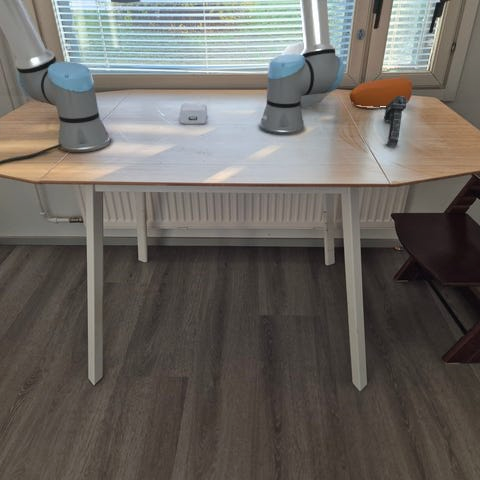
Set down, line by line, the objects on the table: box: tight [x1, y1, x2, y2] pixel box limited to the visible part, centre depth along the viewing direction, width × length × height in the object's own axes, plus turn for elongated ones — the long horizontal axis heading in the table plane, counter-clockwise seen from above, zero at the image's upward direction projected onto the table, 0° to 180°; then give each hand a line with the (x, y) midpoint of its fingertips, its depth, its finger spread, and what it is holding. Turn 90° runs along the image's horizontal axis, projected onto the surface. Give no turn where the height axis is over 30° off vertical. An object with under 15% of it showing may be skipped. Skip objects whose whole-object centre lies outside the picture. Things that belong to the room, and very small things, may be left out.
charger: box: [179, 102, 208, 125], centre depth 151 cm, size 5×9×15 cm
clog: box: [349, 77, 413, 110], centre depth 164 cm, size 12×11×25 cm
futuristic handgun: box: [383, 96, 408, 147], centre depth 138 cm, size 4×29×15 cm, turn 164°
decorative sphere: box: [279, 40, 331, 109], centre depth 160 cm, size 24×25×25 cm
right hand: (402, 30), depth 105 cm, fingers open, 13 cm apart
